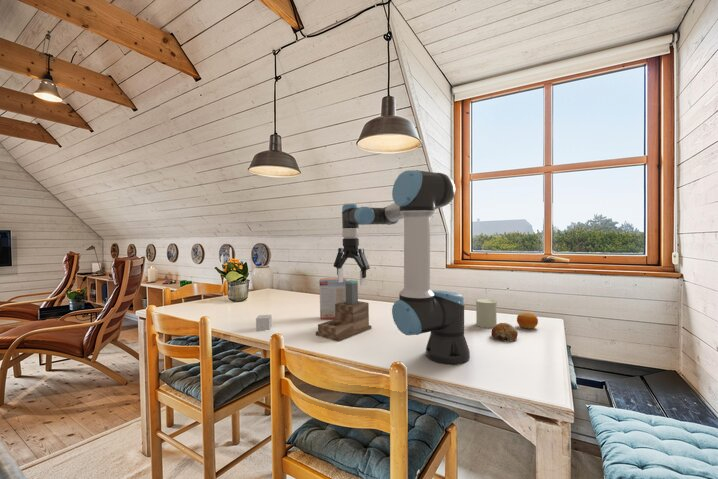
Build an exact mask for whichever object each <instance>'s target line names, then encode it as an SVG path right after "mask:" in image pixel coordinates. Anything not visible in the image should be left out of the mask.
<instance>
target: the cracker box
mask: <svg viewBox="0 0 718 479" xmlns="http://www.w3.org/2000/svg"><path fill="white" fill-rule="evenodd" d="M347 279H348V278H347V277H343V282H340V283H338V277H322V278H320V279H319V282H318V283H319V312H320V313H319V316H320V320H334V319H335V304H337V303H341V302H345V301H346V287H345V281H348V280H347Z"/></svg>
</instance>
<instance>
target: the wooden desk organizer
mask: <svg viewBox="0 0 718 479" xmlns="http://www.w3.org/2000/svg"><path fill="white" fill-rule="evenodd" d="M369 309H370V308H369V302H365V301H360V300H358V304H355V305H348V304H346V301H345V302H341V303H337V304H335V319H330V320H328V321H325V322H322V323H318V324H317V331H315V336H317V337H321V338H324V339H327V340H332V341H335V342H342V341H344V340H347V339H349V338H352V337H355V336H357V335H359V334H362V333H365V332H367V331H369V330H372V329H373V328H372V325H370V316H369V315H370V313H369V311H370V310H369Z"/></svg>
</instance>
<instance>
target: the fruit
mask: <svg viewBox="0 0 718 479" xmlns="http://www.w3.org/2000/svg"><path fill="white" fill-rule="evenodd" d="M516 323H517V324H518V325H519V327H521V328H523V329H535V328H536V327H537V326H538V324H539V320H538V317H537V316H536V314H534V313H530V312H520V313H519V314H517V316H516Z"/></svg>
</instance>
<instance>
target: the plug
mask: <svg viewBox="0 0 718 479" xmlns="http://www.w3.org/2000/svg"><path fill="white" fill-rule="evenodd" d="M358 284H359V283H358V280H357V279H356V280H354V279H349V280H347V281H345V287H346V304H348V305H355V304H358V301H359V293H358V292H359V290H358V289H359V288H358Z"/></svg>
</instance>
